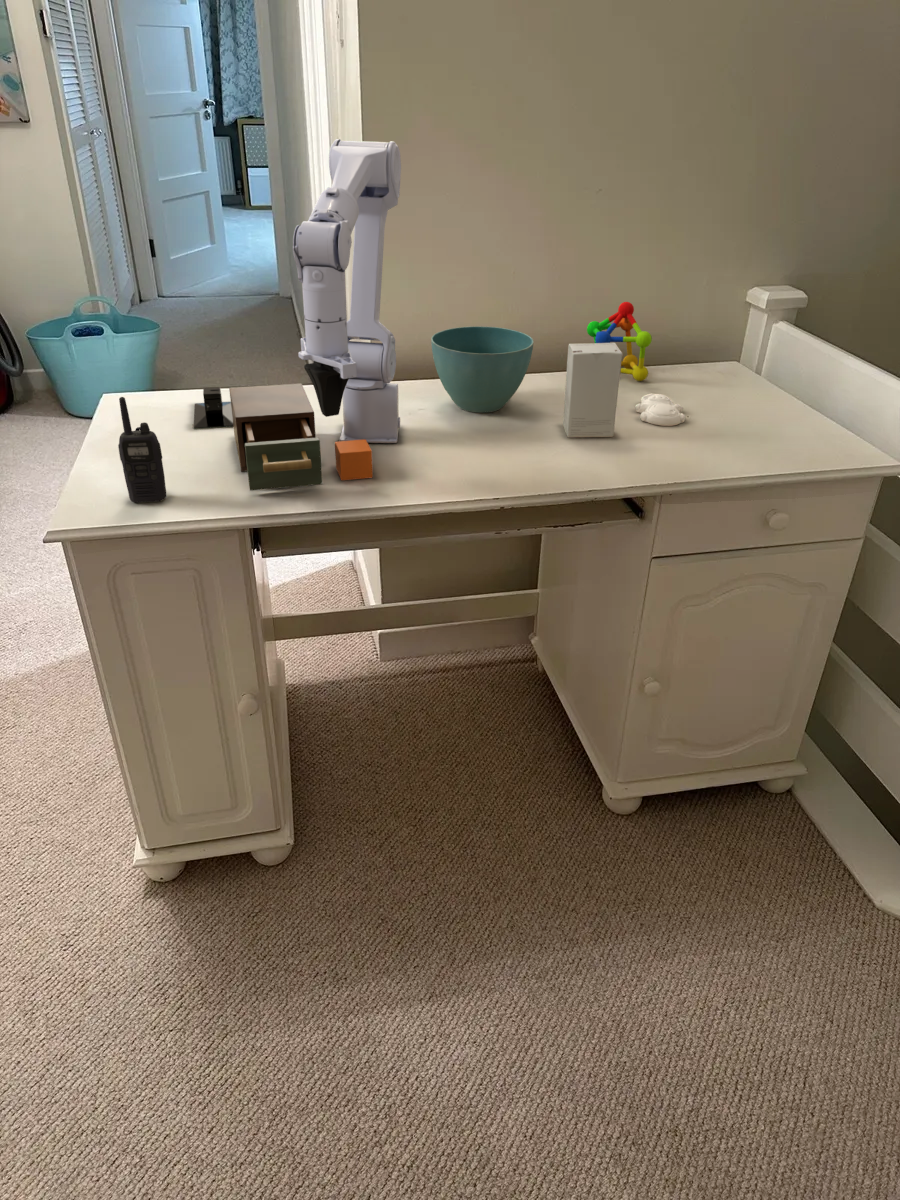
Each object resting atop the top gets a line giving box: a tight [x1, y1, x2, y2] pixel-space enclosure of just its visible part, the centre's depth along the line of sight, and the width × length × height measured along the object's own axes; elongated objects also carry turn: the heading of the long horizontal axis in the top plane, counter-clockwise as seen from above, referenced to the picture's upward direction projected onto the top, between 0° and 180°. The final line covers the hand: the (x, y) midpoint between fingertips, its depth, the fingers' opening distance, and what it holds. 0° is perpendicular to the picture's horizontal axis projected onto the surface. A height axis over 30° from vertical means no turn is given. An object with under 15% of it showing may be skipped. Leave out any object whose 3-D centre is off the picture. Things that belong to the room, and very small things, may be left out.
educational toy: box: [586, 301, 653, 382], centre depth 173 cm, size 16×13×15 cm
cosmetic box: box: [562, 342, 623, 438], centre depth 145 cm, size 8×6×15 cm
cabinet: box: [228, 382, 317, 473], centre depth 136 cm, size 14×12×9 cm
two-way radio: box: [117, 396, 167, 504], centre depth 119 cm, size 6×4×15 cm
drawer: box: [244, 418, 323, 492], centre depth 126 cm, size 18×10×7 cm, turn 16°
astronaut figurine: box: [634, 393, 686, 427], centre depth 157 cm, size 9×12×3 cm
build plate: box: [191, 386, 234, 430], centre depth 150 cm, size 12×7×5 cm, turn 13°
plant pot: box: [430, 325, 534, 414], centre depth 156 cm, size 18×18×12 cm
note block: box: [334, 439, 373, 481], centre depth 131 cm, size 5×5×4 cm
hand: (330, 414), depth 124 cm, fingers closed
